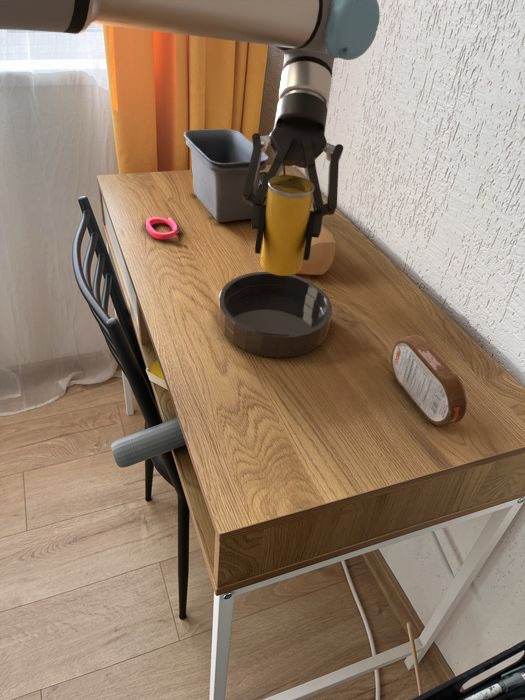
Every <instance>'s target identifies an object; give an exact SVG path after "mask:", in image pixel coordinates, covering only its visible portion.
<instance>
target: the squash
mask: <svg viewBox="0 0 525 700" xmlns="http://www.w3.org/2000/svg"><path fill="white" fill-rule="evenodd" d="M305 243H306V242H305ZM335 249H336V241H335V239H334V237H333V234H332V232H331V231H330V230H329V229H327V227H325V225H322V226H321V232H320V235H319V237H318V238H316V237H312V242H311V249H310V256H309V259H308V260H303V261H302V267H301V270H300V271H299V272H298V273H296V274H298V275H312V276H313V275H314V276H315V275H321V276H323V275H324V274H325V273H326V272H327V271H328V270H330V268H331V265H332V263H333V260H334V258H335V252H336V251H335ZM304 250H305V248H304ZM303 257H304V254H303ZM296 274H295V275H296Z"/></svg>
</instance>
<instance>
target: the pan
mask: <svg viewBox="0 0 525 700" xmlns="http://www.w3.org/2000/svg"><path fill="white" fill-rule="evenodd" d="M217 304H218V305H217V323H218V327H219V328H220V330H221V331H222V333H223V335H224V336H225V337H226V339H227V340H229V341H230V342H231V343H232V344H233V345H234V346H236V347H238V348H239V349H241V350H242V351H245V352H247V353H250V354H253V355H256V356H260V357H265V358H271V359H272V358H273V359H285V358H286V359H288V358H294V357H299V356H303V355H305V354H308V353H310V352H312V351H313V350H315V349H317V348H318V347H319V346H320V345H321V344H322V343H323V342H324V341H325V339H326V337H327V336H328V333H329V330H330V327H331V326H330V325H331V320H332V316H333V305H332V302H331V300H330V297H329V296H328V295H327V293H326V292H325V291H324V290H323V289H322V288H321V287H319V286H317V285H316V284H314V283H313V282H312V281H309V280H307V279H305V278H302V277H301V276H297V275H295V274H294V275H289V276H280V275H275V274H271V273H269V272H267V271H256V272H250V273H246V274H245V273H244V274H242V275H239V276H236V277H235V278H233V279H231V280H230V281H228V282H227V283H226V284H225V285H224V286H223V287H222V289H220V292H219V297H218V303H217Z"/></svg>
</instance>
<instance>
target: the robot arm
mask: <svg viewBox="0 0 525 700" xmlns="http://www.w3.org/2000/svg"><path fill="white" fill-rule="evenodd" d="M380 17H381V11H380V6H379V2H378V0H0V30H7V31H8V30H9V31H33V32H48V33H49V32H50V33H63V34H73V35H82V34H84V32H86V31H87V30H88V28H89V27H90V26H91V25H92V24H93V25H103V26H110V27H118V28H126V29H134V30H142V31H150V32H159V33H167V34H174V35H175V34H176V35H184V36H192V37H199V38H208V39H215V40H216V39H217V40H224V41H233V42H239V43H249V44H256V45H257V44H258V45H266V46H272V47H273V46H274V47H276V49H278V50H279V51H280V52H281V53H282V55H283V57H284V58H283V65H282V71H281V80H280V85H279V91H278V92H279V93H278V102H277V107H276V113H275V119H274V125H273V129H272V130H271V132H270V133H269V134H266V135H260V134H259V133H257V132H254V133H253V134H252V135H251V142H252V146H253V152H252V156H251V160H250V164H249V168H248V172H247V176H246V180H245V185H244V189H243V193H242V195H243V201H244V203H246V204H250V205H251V206H252V207H253V211H252V218H250V227H251V229H252V230H256V238H255V245H254V253H255V254H259V255H261V253H262V243H263V233H264V223H265V213H266V204H265V203H266V202H267V194H268V181H269V180H270V179H271V178H272V177H275V176H280V175H281V172H282V171H283V170H284V167H285V166H286V167H292V166H294V167H297V168H300V169H304V173H305V177H306V179H307V180H309V181H311V182H312V183H313V184H314V187H315V188H314V192H313V198H312V204H311V206H312V210H311V211H310V217H309V223H308V229H307V235H306V243H305V250H304V257H303V260H308V259H309V256H310V249H311V242H312V237H316V238H318V237H319V235H320V232H321V226H323V218H324V217H325V216H328V215H329V216H333V215H334V214H335V213H336V210H337V207H338V193H339V192H338V191H339V190H338V189H339V186H338V185H339V165H340V164H339V163H340V160H341V158H342V155H343V151H344V146H343V144H342V143H341V144H340V143H338V144H336V145H334V144H332V143H329V142H328V141H327V140H328V139H327V138H326V135H325V132H326V126H327V118H328V106H329V102H330V96H331V90H332V89H331V88H332V82H333V68H334V63H335V59H341V60H345V61H353V60H355V59H358V58H360V57H362V56H363V55H364V54H365V53H366V52H367V50H368V51H369V48H370V47H371V46H372V44H373V42H374V41H375V38H376V36H377V31H378V27H379V25H380ZM269 145H270V146H271V148H272V150H273V152H274V153H275V156H274V158H273V161H272V164H271V166H270V167H269V169H268V171H267V173H266V175H265V176H264V179H263V180H262V183H261V184H260V185H259V188H258V189H257V192H256V195H255V194H253V191H254V187H255V183H256V179H257V174H258V170H259V166H260V162H261V152H264V153H265V152H266V151H267V147H268V146H269ZM323 152H324V153H325V154H326V157H325V158H326V160H327V161H328V162H329V164H328V174H327V196H326V197H327V198H326V203H324V200H323V196H322V192H321V186H320V181H319V177H318V176H319V175H318V171H317V166H316V159H318V158H319V157H320V156H321V155H322V154H323Z"/></svg>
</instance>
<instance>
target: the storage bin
mask: <svg viewBox="0 0 525 700" xmlns="http://www.w3.org/2000/svg"><path fill="white" fill-rule="evenodd" d="M183 136H184V137H185V139H186V140H185V145H186V146H187V147H188V148H189V149H190V153H191V169H192V184H193V185H192V186H193V187H192V188H193V194H194V196H195V197H196V198H197V199H198V200H199V201H200V203H202V205H203V206H204V207H205V208H206V210H207V211H208V212H209V213H210V215H211V216H213V218H214V219H215V221H217V222H218V223H227V222H228V223H229V222H235V221H241V220H243V221H244V220H251V218H252V211H253V207H252V206H251V205H250V204H246V203H244V201H243V195H242V193H243V189H244V185H245V180H246V176H247V172H248V168H249V164H250V160H251V156H252V152H253V146H252V140H250V139H249V138H247V137H246V136H245V135H244V134H242V133H241V132H240V131H238V130H235V129H230V128H212V129H211V128H210V129H209V128H207V129H189V130H187V131H185V132H184V133H183ZM269 159H270V157H269V156H268V155H267V154H266V153H265V152H261V162H260V166H259V170H258V174H257V179H256V183H255V187H254V191H253V194H255V195H256V194H257V192H258V185H259V179H260V174H261V171H264V170H265V169H266V168H267V163H266V161H268V160H269Z"/></svg>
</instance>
